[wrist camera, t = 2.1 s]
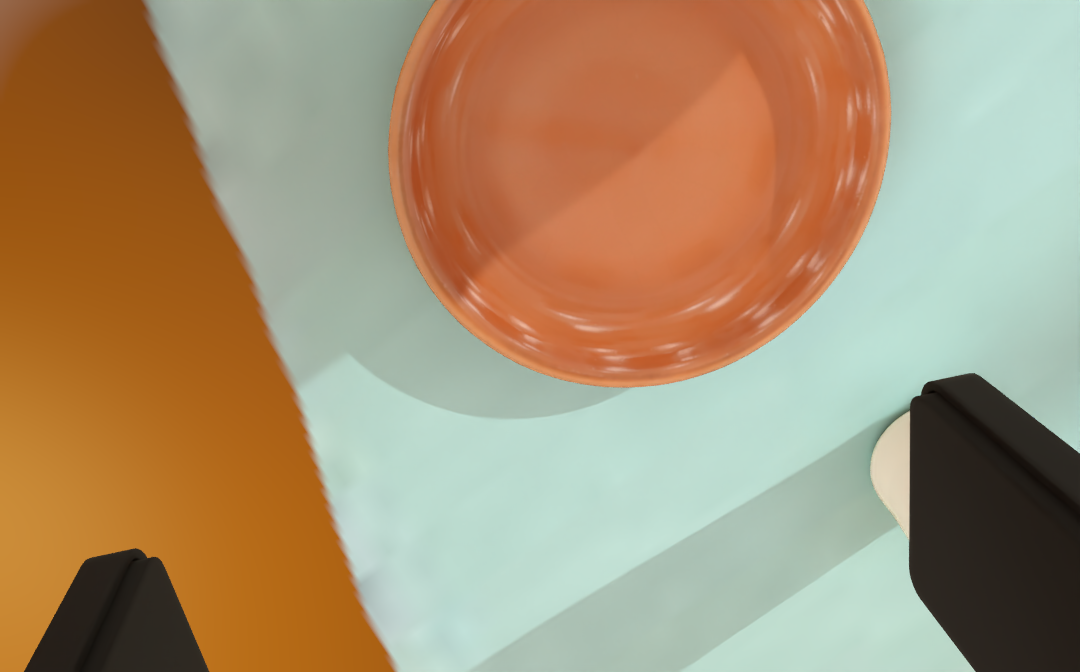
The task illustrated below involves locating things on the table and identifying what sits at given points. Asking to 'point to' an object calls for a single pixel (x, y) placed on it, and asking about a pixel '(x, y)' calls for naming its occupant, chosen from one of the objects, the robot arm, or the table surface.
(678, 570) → the table surface
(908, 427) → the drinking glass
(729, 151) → the saucer
